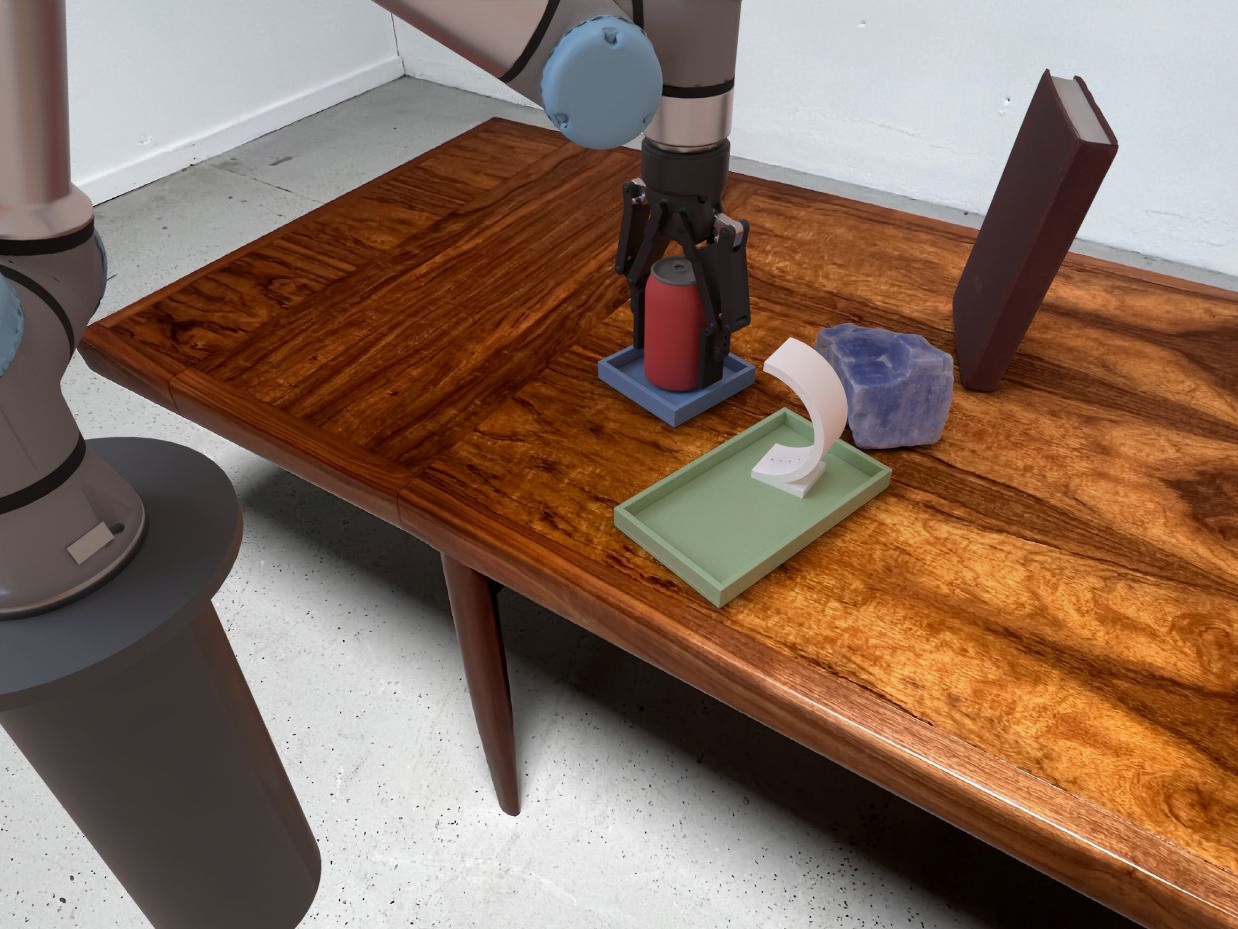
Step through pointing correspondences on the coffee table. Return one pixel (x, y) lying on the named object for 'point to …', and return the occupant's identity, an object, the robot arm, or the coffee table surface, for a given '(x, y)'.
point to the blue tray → (668, 405)
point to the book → (1029, 225)
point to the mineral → (889, 384)
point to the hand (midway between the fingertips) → (676, 362)
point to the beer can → (672, 325)
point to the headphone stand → (826, 410)
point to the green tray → (745, 508)
